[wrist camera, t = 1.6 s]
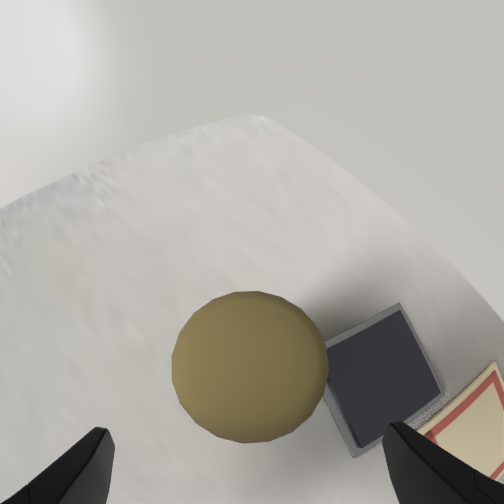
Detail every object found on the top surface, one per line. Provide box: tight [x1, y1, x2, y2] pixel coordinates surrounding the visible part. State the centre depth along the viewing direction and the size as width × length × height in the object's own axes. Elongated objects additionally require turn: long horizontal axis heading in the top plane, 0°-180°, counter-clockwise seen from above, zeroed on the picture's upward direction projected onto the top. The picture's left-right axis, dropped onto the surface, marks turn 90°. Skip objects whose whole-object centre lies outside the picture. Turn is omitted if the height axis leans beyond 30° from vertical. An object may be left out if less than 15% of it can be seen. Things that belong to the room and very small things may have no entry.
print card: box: [416, 362, 504, 481], centre depth 16 cm, size 10×10×1 cm
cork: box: [172, 291, 329, 443], centre depth 13 cm, size 6×6×11 cm
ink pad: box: [323, 303, 445, 458], centre depth 18 cm, size 8×8×1 cm
